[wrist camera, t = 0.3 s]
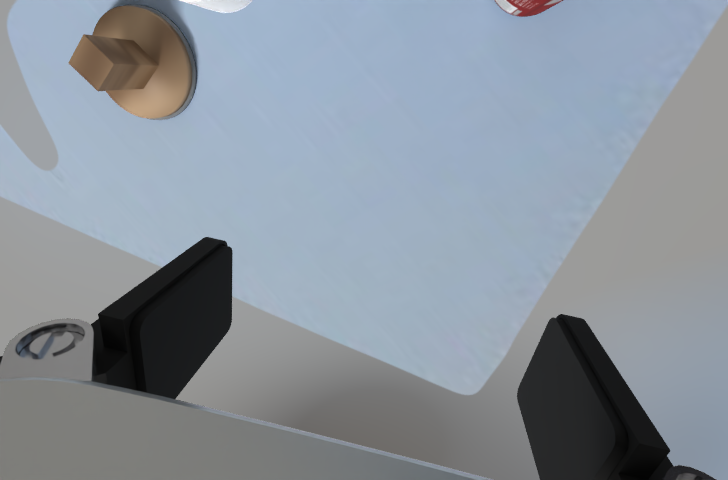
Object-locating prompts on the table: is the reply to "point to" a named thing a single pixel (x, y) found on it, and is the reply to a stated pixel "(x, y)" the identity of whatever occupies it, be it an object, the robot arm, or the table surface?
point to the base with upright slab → (220, 4)
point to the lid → (136, 62)
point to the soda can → (525, 6)
